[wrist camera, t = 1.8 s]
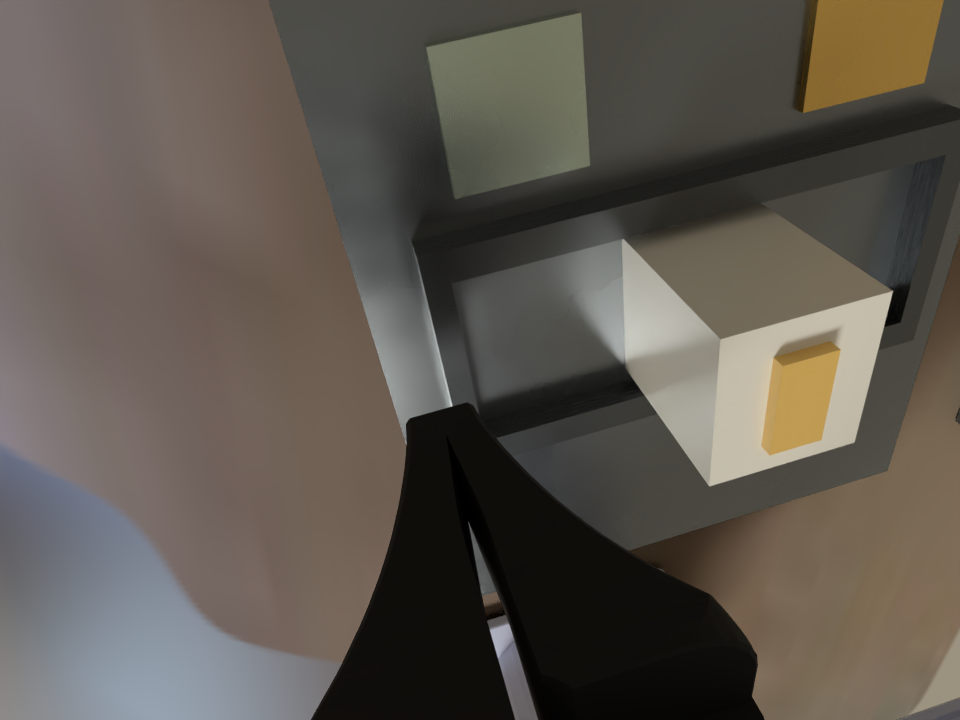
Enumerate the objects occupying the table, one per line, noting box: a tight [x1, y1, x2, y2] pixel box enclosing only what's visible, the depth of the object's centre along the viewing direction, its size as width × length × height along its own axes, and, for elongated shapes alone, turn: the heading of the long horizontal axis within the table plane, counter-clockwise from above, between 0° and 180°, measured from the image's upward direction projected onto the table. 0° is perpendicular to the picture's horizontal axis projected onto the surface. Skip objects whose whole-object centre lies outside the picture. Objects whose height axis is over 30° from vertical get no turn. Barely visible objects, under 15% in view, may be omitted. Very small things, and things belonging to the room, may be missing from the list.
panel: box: [269, 0, 960, 596], centre depth 17 cm, size 20×16×2 cm
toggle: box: [622, 203, 893, 486], centre depth 15 cm, size 4×4×5 cm
